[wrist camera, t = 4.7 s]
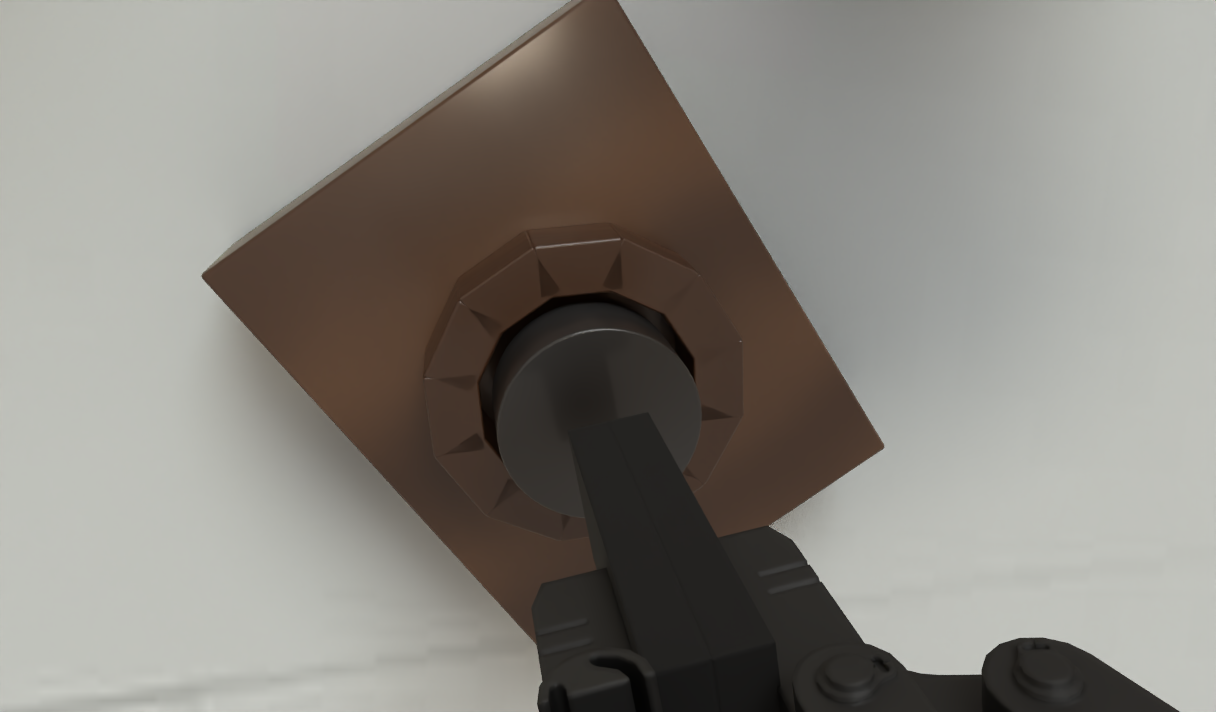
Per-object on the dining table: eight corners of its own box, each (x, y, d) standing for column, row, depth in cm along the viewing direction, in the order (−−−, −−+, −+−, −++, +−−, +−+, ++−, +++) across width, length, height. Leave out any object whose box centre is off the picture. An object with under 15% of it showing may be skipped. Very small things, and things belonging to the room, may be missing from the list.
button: (712, 407, 21) (739, 443, 19) (563, 509, 21) (574, 555, 19) (613, 262, 20) (631, 286, 18) (452, 375, 20) (453, 410, 18)
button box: (838, 403, 27) (919, 478, 22) (545, 601, 28) (565, 715, 23) (585, -11, 22) (622, -24, 17) (231, 245, 22) (175, 298, 18)
